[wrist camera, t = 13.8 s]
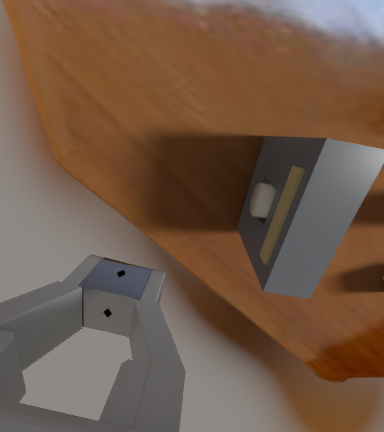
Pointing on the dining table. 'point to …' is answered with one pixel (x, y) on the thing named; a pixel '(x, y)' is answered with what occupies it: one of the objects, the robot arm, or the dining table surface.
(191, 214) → the dining table surface
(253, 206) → the knob
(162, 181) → the dining table surface
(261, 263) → the control block
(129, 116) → the dining table surface
